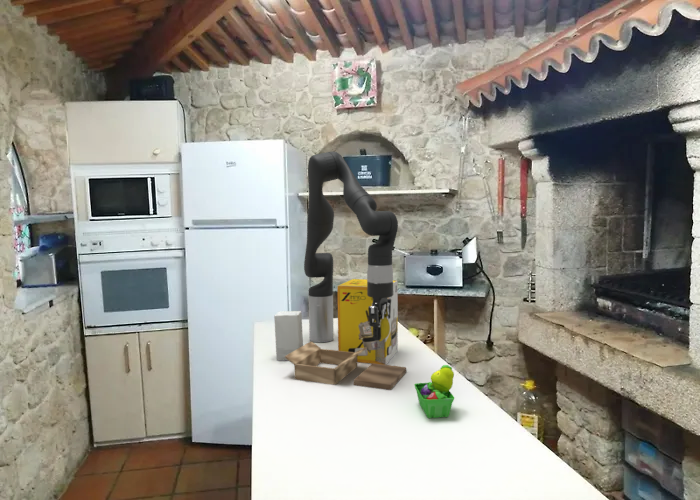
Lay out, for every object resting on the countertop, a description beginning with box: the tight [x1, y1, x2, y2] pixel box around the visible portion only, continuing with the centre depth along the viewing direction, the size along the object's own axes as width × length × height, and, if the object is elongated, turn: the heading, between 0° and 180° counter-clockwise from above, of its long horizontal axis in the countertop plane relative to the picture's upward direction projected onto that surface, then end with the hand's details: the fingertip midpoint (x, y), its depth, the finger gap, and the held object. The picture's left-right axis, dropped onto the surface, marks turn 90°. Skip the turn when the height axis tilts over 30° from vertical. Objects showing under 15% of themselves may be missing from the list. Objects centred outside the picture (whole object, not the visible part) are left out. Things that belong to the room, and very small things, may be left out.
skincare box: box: [273, 310, 304, 362], centre depth 166 cm, size 8×7×16 cm
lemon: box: [371, 317, 390, 341], centre depth 145 cm, size 6×6×8 cm
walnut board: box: [353, 363, 407, 391], centre depth 146 cm, size 16×11×2 cm
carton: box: [285, 341, 367, 386], centre depth 151 cm, size 17×20×7 cm
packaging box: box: [336, 278, 399, 365], centre depth 168 cm, size 16×16×25 cm
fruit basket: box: [414, 364, 455, 419], centre depth 122 cm, size 11×9×11 cm
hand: (380, 336), depth 145 cm, fingers closed on lemon, 5 cm apart
